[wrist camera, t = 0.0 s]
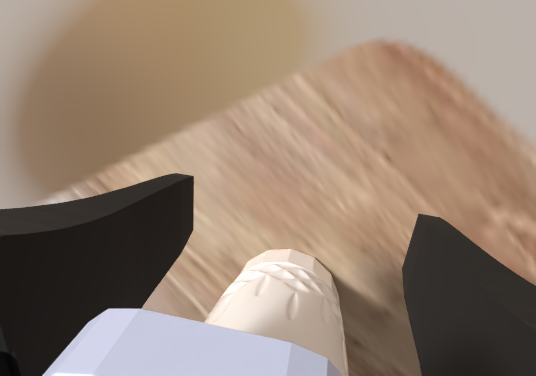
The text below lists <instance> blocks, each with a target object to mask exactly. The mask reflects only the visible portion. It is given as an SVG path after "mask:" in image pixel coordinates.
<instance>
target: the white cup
mask: <svg viewBox="0 0 536 376" xmlns="http://www.w3.org/2000/svg"><path fill="white" fill-rule="evenodd" d="M204 323H208V324H212V325H217V326H221V327H226V328H230V329H235V330H239V331H243V332H248V333H252V334H257V335H261V336H266V337H270V338H275V339H279V340H284V341H288V342H292V343H295V344H297V345H299V346H302V347H304V348H306V349H308V350H311V351H313V352H315V353H318V354H320V355H322V356H324V357H326V358H328V359H329V360H330V361H331V362H332V364H333V365H334V366H335V367H336V368H337V369H338V370H339V371H340V372H341V374H342V375H343V376H349V372H348V361H347V351H346V343H345V337H344V327H343V321H342V316H341V311H340V304H339V295H338V292H337V289H336V286H335V284H334V281H333V278H332V275H331V273H330V272H329V271H328V270H327V269H326V268H324V267H323V266H322V265H321V264H320V263H319V262H318V261H317V260H316V259H315V258H314V257H312V256H309V255H307V254H304V253H301V252H299V251H296V250H293V249H278V250H267V251H265V252H264V253H262V254H260V255H258V256H256V257H255V258H253V259H251V260H249V261H248V262H247V264H246V265H245V267H244V269H243V270H242V272H241V273H240V275H239V276H238V278H237V279H236V280H235V281H234V282H233V283H232V284H231V285H230V286H229V287H228V288H227V290H226V291H225V293H224V294H223V295H222V297H221V298H220V299H219V301H218V302H217V304H216V305H215V307H214V308H213V310H212V311H211V313H210V314H209V316H208V317H207V319H206V320H205V322H204Z"/></svg>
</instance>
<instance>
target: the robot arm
mask: <svg viewBox="0 0 536 376" xmlns="http://www.w3.org/2000/svg"><path fill="white" fill-rule="evenodd" d="M193 196H194V176H189V175H183V174H177V173H175V174H169V175H165V176H161V177H158V178H155V179H151V180H148V181H145V182H142V183H139V184H136V185H132V186H129V187H126V188H122V189H119V190H115V191H112V192H108V193H105V194H101V195H97V196H93V197H89V198H84V199H79V200H74V201H69V202H63V203H57V204H49V205H41V206H33V207H25V208H13V209H0V376H343V375H342V374H341V372H340V371H339V370H338V369H337V368H336V367H335V366H334V365H333V364H332V362H331V361H330V360H329V359H328V358H326V357H324V356H322V355H320V354H318V353H315V352H313V351H311V350H308V349H306V348H304V347H302V346H299V345H297V344H295V343H292V342H288V341H284V340H279V339H275V338H270V337H266V336H261V335H257V334H252V333H248V332H243V331H239V330H235V329H230V328H226V327H221V326H217V325H212V324H208V323H203V322H199V321H194V320H190V319H185V318H181V317H176V316H172V315H168V314H163V313H159V312H154V311H150V310H145V309H141V308H142V307H143V305H144V304H145V302H146V301H147V299H148V298H149V296H150V295H151V294H152V292H153V291H154V290H155V288H156V287H157V286H158V284H159V283H160V281H161V280H162V279H163V277H164V276H165V275H166V273H167V272H168V271H169V269H170V268H171V266H172V265H173V264H174V262H175V261H176V259H177V258H178V257H179V255H180V254H181V252H182V251H183V249H184V247H185V245H186V243H187V241H188V239H189V237H190V235H191V233H192V231H193ZM402 273H403V288H404V297H405V302H406V306H407V311H408V315H409V320H410V324H411V328H412V332H413V337H414V341H415V345H416V349H417V353H418V358H419V362H420V368H421V373H422V376H536V286H535V285H533V284H532V283H530V282H528V281H527V280H525V279H523V278H522V277H520V276H519V275H517V274H516V273H514V272H513V271H511V270H510V269H509V268H507V267H506V266H504V265H503V264H501V263H500V262H499V261H497V260H496V259H494V258H493V257H492V256H490V255H489V254H488V253H486V252H485V251H484V250H482V249H481V248H480V247H479V246H477V245H476V244H475V243H473V242H472V241H471V240H470V239H468V238H467V237H466V236H465V235H463V234H462V233H461V232H460V231H458V230H457V229H456V228H454V227H453V226H452V225H451V224H449V223H448V222H446V221H445V220H443V219H442V218H440V217H435V216H429V215H423V214H418V218H417V221H416V224H415V228H414V231H413V234H412V238H411V241H410V244H409V248H408V251H407V254H406V258H405V261H404V264H403V268H402Z"/></svg>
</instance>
